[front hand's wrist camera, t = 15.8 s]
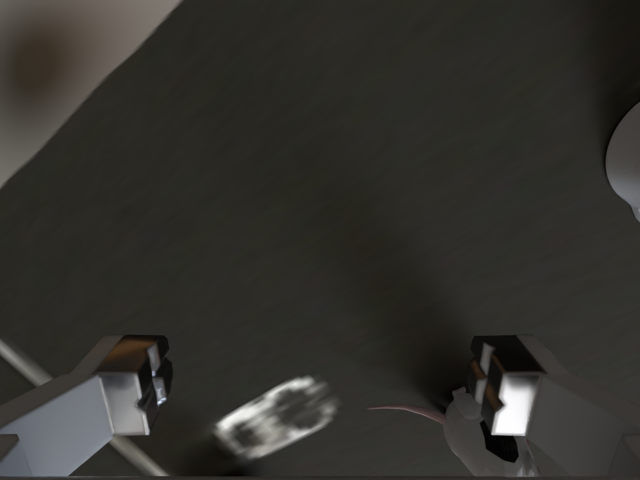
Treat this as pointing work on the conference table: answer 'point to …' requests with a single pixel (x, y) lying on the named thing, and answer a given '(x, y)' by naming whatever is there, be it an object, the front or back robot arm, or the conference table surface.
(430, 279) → the conference table surface
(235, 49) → the conference table surface
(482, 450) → the toy
